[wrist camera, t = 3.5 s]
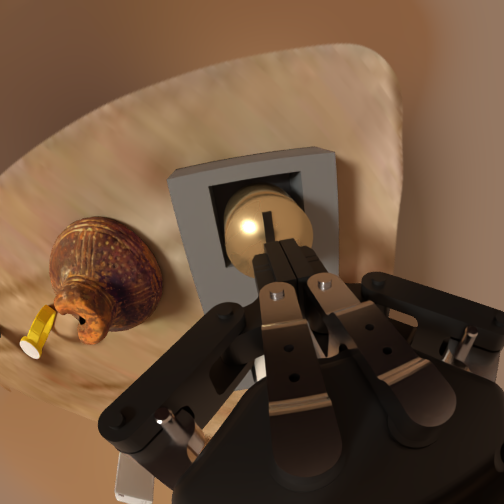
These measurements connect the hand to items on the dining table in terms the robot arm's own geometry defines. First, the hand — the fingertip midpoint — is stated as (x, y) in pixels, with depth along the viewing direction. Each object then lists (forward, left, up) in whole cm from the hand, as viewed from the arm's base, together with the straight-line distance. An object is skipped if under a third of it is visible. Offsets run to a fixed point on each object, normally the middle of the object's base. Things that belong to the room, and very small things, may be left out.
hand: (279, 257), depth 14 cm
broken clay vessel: (+6, +14, -10) cm, 18 cm away
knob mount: (-6, +4, -9) cm, 12 cm away
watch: (+8, +25, -10) cm, 28 cm away
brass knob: (0, 0, -6) cm, 6 cm away
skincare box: (-14, +40, -10) cm, 43 cm away
